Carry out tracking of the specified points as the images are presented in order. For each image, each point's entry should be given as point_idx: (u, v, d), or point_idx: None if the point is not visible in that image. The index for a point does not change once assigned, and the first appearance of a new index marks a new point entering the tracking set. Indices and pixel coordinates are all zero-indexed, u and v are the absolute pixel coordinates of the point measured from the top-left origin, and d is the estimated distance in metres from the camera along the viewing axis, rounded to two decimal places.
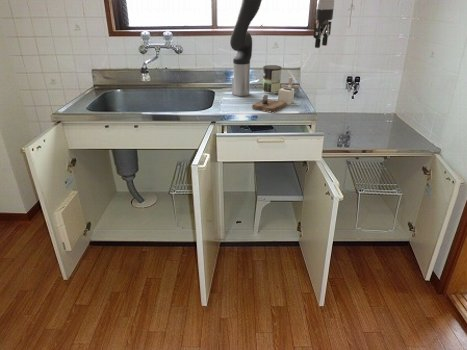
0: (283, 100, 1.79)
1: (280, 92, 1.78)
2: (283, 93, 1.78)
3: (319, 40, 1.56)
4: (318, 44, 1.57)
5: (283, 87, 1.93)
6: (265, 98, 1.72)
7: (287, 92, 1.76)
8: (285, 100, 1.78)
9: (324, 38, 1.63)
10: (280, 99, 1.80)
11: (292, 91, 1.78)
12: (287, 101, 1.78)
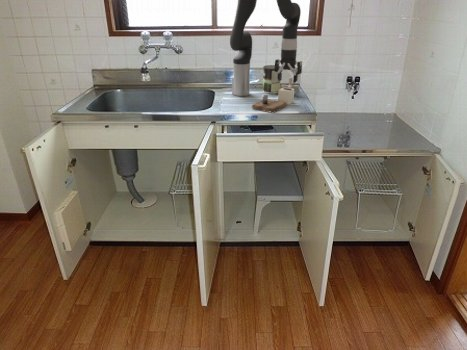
0: (283, 100, 1.79)
1: (280, 92, 1.78)
2: (283, 93, 1.78)
3: None
4: None
5: (283, 87, 1.93)
6: (265, 98, 1.72)
7: (287, 92, 1.76)
8: (285, 100, 1.78)
9: (280, 74, 1.77)
10: (280, 99, 1.80)
11: (292, 91, 1.78)
12: (287, 101, 1.78)
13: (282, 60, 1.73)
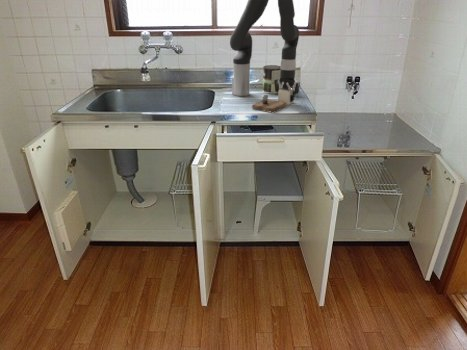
0: (283, 100, 1.79)
1: (280, 92, 1.78)
2: (283, 93, 1.78)
3: None
4: None
5: None
6: (265, 98, 1.72)
7: (287, 92, 1.76)
8: (285, 100, 1.78)
9: None
10: (280, 99, 1.80)
11: None
12: (287, 101, 1.78)
13: (281, 79, 1.77)
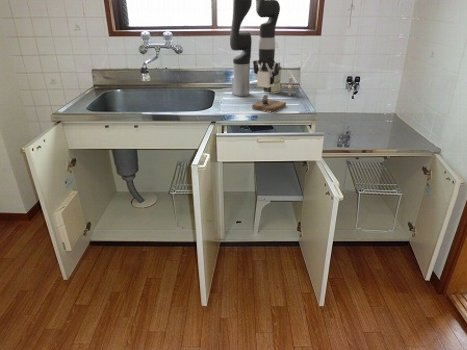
0: (262, 82, 1.67)
1: (259, 74, 1.66)
2: (262, 75, 1.66)
3: None
4: None
5: (283, 87, 1.93)
6: (265, 98, 1.72)
7: (266, 73, 1.64)
8: (264, 82, 1.66)
9: None
10: (259, 81, 1.68)
11: None
12: (267, 83, 1.66)
13: (260, 60, 1.65)
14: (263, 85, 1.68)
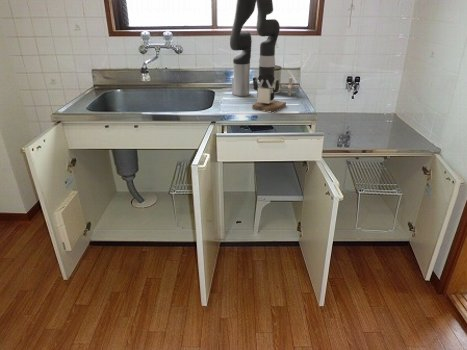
0: (263, 99, 1.71)
1: (260, 90, 1.70)
2: (263, 91, 1.69)
3: None
4: None
5: (283, 87, 1.93)
6: None
7: (267, 90, 1.68)
8: (265, 99, 1.70)
9: None
10: (260, 98, 1.72)
11: None
12: (267, 100, 1.70)
13: (260, 77, 1.69)
14: (264, 101, 1.71)
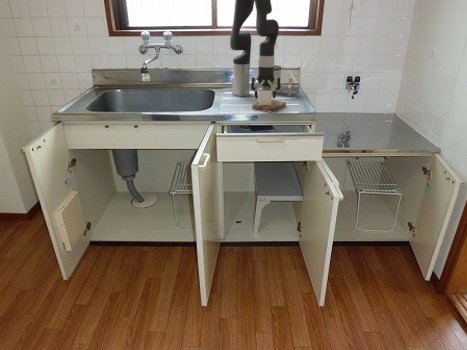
0: (265, 101, 1.71)
1: (261, 93, 1.69)
2: (265, 94, 1.69)
3: None
4: None
5: (283, 87, 1.93)
6: None
7: (270, 92, 1.69)
8: (268, 100, 1.71)
9: (257, 92, 1.72)
10: (262, 100, 1.71)
11: None
12: (270, 101, 1.71)
13: (260, 78, 1.68)
14: (266, 103, 1.72)
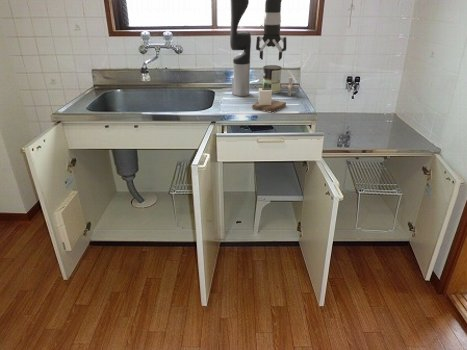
0: (265, 101, 1.71)
1: (261, 93, 1.69)
2: (265, 94, 1.69)
3: None
4: None
5: (283, 87, 1.93)
6: None
7: (270, 92, 1.69)
8: (268, 100, 1.71)
9: (262, 52, 1.66)
10: (262, 100, 1.71)
11: None
12: (270, 101, 1.71)
13: (265, 37, 1.61)
14: (266, 103, 1.72)
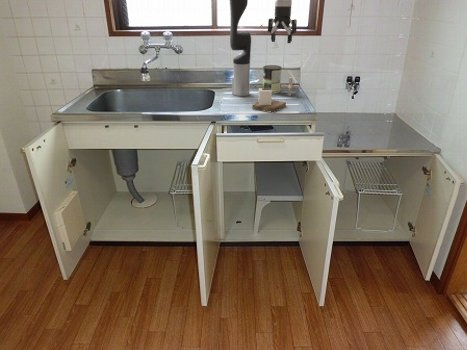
0: (265, 101, 1.71)
1: (261, 93, 1.69)
2: (265, 94, 1.69)
3: None
4: None
5: (283, 87, 1.93)
6: None
7: (270, 92, 1.69)
8: (268, 100, 1.71)
9: (274, 35, 1.68)
10: (262, 100, 1.71)
11: None
12: (270, 101, 1.71)
13: (276, 19, 1.63)
14: (266, 103, 1.72)
